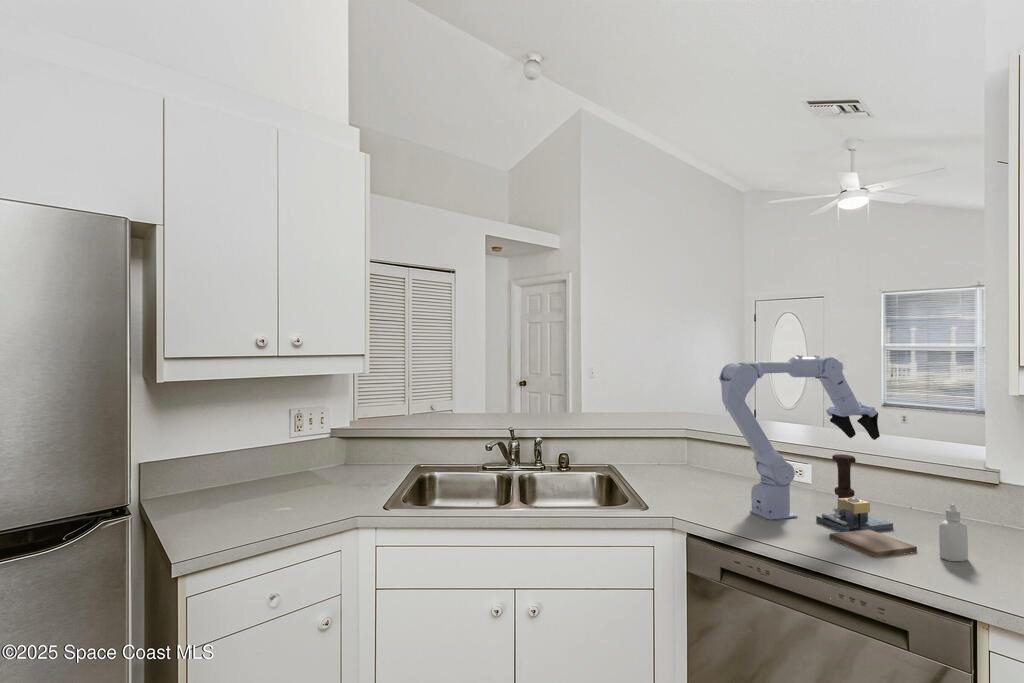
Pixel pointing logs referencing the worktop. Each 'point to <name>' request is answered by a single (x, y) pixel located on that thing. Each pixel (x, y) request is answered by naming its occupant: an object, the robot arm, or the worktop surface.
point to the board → (873, 543)
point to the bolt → (844, 475)
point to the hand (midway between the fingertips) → (864, 437)
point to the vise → (853, 521)
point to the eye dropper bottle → (953, 536)
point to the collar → (853, 505)
